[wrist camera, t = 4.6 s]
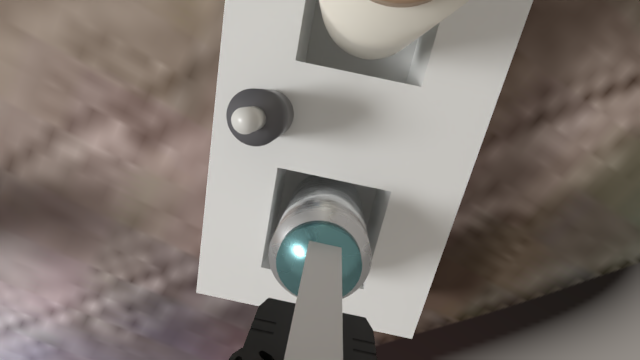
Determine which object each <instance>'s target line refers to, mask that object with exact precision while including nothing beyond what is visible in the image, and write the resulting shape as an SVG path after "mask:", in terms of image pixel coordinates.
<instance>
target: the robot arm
mask: <svg viewBox="0 0 640 360" xmlns="http://www.w3.org/2000/svg"><path fill="white" fill-rule="evenodd" d="M374 344H375V341H374V334H373V329H372V327H371V326H370V324H369V322H368V321H367V319H366V318H365V317H361V316H356V315H351V314H347V313H342V248H341V247H337V246H332V245H327V244H323V243H318V242H313V241H309V244H308V248H307V253H306V258H305V263H304V267H303V272H302V277H301V281H300V286H299V291H298V295H297V300H296V303H291V302H286V301H282V300H277V299H273V298H268V299H266V300H265V301H264V302H263V303H262V304H261V305H260V306H259V308H258V310H257V313H256V315H255V318H254V321H253V323H252V326H251V329H250V331H249V333H248V336H247V339H246V341H245V344H244V346H243V348H241V349H239V350H238V351H236V352H235V353H233V354H232V356H231V357H230V359H229V360H377V357H376V348H375V345H374Z"/></svg>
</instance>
